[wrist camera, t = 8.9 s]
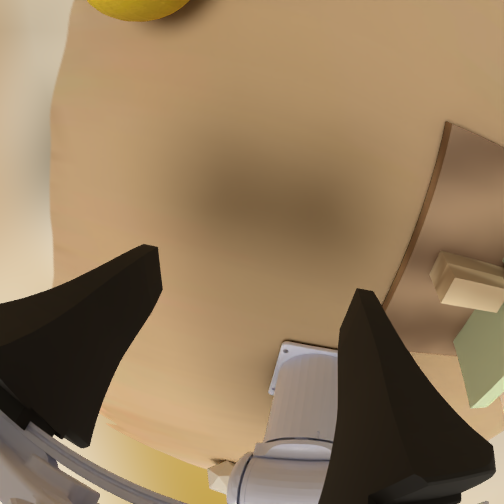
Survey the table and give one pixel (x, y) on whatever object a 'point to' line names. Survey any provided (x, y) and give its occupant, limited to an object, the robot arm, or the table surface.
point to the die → (220, 476)
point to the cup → (502, 400)
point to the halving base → (453, 247)
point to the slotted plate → (482, 356)
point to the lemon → (137, 8)
